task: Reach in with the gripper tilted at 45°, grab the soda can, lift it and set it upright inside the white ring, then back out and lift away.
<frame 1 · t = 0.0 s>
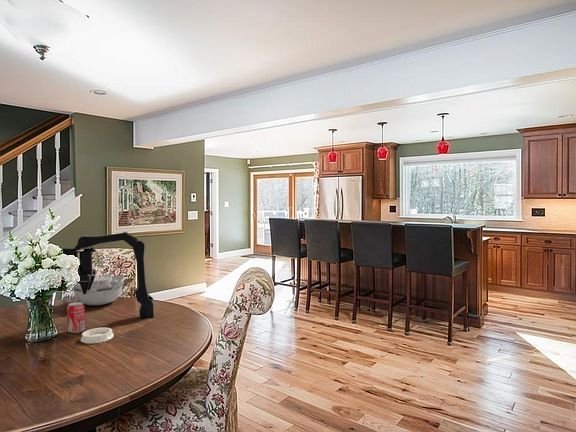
hand: (86, 292, 200), 15 cm above the table, tool pointing down, fingers open, 9 cm apart
soda can: (76, 331, 186), on the table
decorative bowl: (97, 304, 234), on the table
white ring: (97, 338, 176), on the table
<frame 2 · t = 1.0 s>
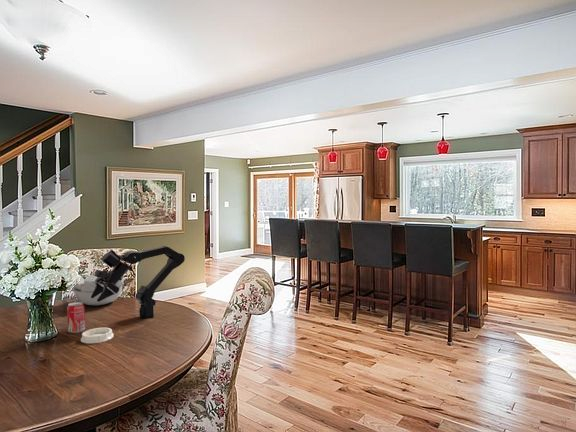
hand: (94, 299, 191), 13 cm above the table, tool tilted 45°, fingers open, 9 cm apart
nothing on the table moved.
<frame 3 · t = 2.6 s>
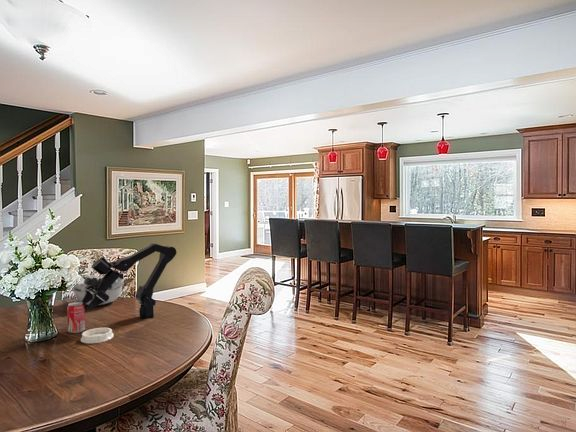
hand: (83, 307, 188), 10 cm above the table, tool tilted 45°, fingers open, 9 cm apart
nothing on the table moved.
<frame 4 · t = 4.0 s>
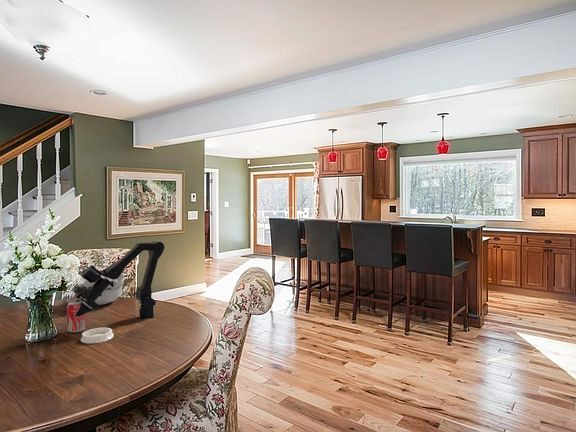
hand: (72, 316, 185), 7 cm above the table, tool tilted 45°, fingers open, 5 cm apart
soda can: (76, 331, 186), on the table, touching gripper
everything else where it was.
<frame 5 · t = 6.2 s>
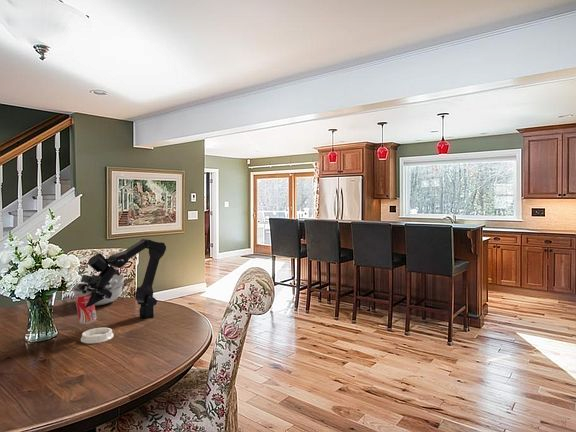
hand: (82, 307, 178), 13 cm above the table, tool tilted 45°, fingers closed on soda can, 4 cm apart
soda can: (88, 322, 180), point 6 cm above the table, touching gripper
everything else where it was.
when the fingers open (9 cm above the table, at t = 7.9 s): soda can drops 1 cm, resting on white ring.
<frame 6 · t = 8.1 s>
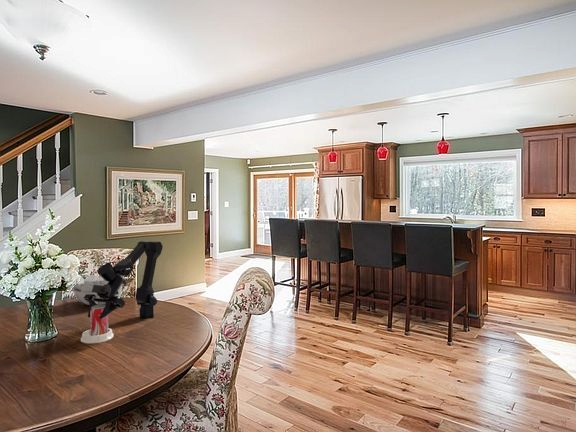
hand: (94, 317, 175), 9 cm above the table, tool tilted 45°, fingers open, 6 cm apart
soda can: (99, 335, 178), point 1 cm above the table, touching white ring, gripper
everything else where it was.
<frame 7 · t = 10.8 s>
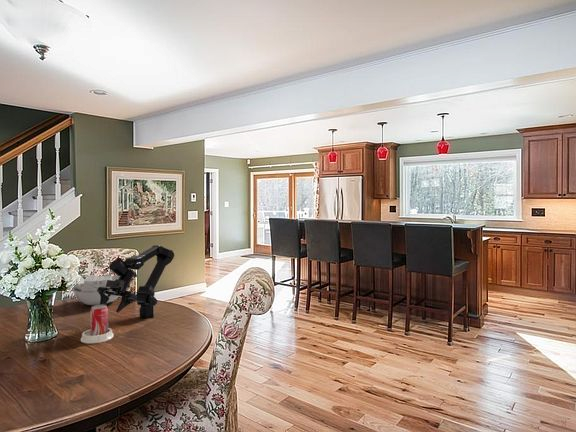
hand: (108, 310, 184), 10 cm above the table, tool tilted 40°, fingers open, 9 cm apart
soda can: (99, 335, 178), point 1 cm above the table, touching white ring
everything else where it was.
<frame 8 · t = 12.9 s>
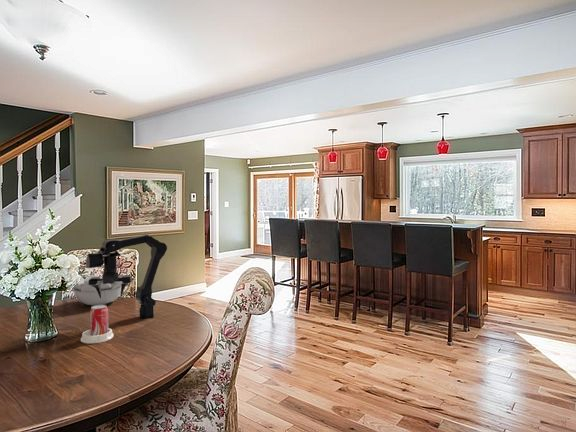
hand: (111, 297, 196), 13 cm above the table, tool pointing down, fingers open, 9 cm apart
nothing on the table moved.
at the end: soda can 1.4 cm off-centre on the white ring, point 0.6 cm above the white ring's base; soda can tilted 0°; the gripper is holding nothing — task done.
